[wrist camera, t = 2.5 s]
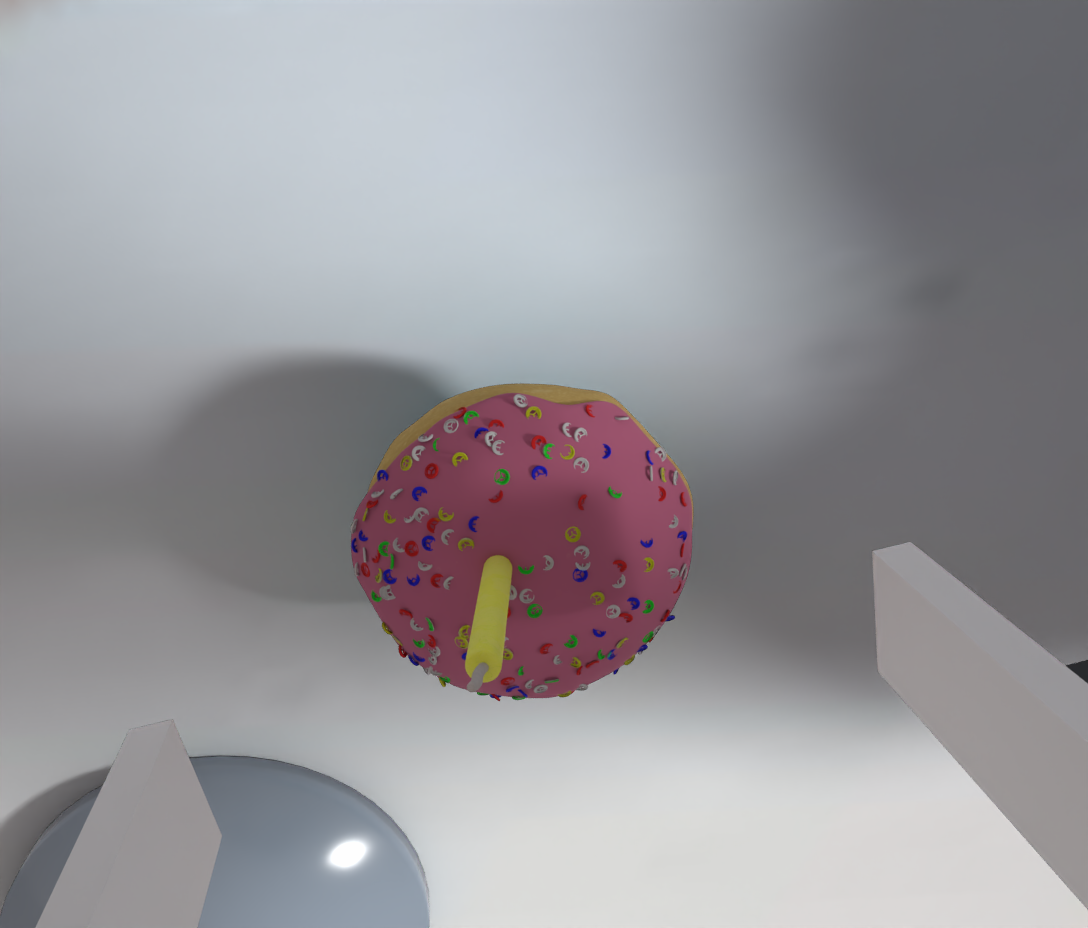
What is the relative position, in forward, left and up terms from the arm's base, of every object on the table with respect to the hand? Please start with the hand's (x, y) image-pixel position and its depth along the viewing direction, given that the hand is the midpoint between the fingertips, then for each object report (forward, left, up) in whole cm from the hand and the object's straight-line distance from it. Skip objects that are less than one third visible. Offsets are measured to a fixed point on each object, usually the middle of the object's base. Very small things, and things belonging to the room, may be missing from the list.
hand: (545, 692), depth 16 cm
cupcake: (0, 0, -11) cm, 11 cm away
